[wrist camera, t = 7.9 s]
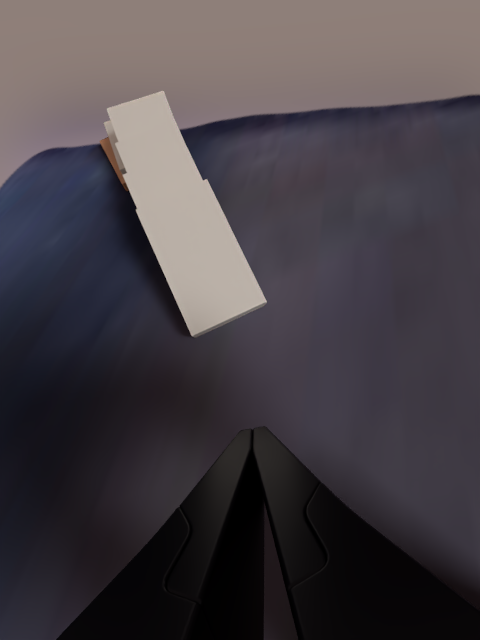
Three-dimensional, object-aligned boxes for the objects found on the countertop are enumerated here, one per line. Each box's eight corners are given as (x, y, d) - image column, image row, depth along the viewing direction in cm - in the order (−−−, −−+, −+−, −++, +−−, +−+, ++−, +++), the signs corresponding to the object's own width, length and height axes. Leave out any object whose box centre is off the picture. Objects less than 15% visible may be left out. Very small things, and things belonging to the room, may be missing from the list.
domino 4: (199, 187, 25) (163, 90, 25) (141, 207, 24) (106, 108, 25) (201, 196, 26) (167, 105, 27) (147, 214, 26) (114, 122, 26)
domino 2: (239, 257, 20) (187, 147, 21) (171, 287, 20) (122, 174, 21) (239, 264, 22) (190, 161, 23) (176, 292, 22) (130, 187, 23)
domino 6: (170, 161, 28) (141, 121, 33) (122, 184, 28) (99, 141, 32) (175, 175, 30) (147, 135, 34) (129, 197, 29) (107, 154, 34)
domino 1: (266, 301, 18) (206, 179, 19) (191, 336, 18) (135, 209, 19) (264, 305, 20) (209, 192, 21) (195, 337, 20) (143, 220, 21)
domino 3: (218, 220, 22) (175, 120, 23) (156, 245, 22) (114, 143, 23) (220, 229, 24) (179, 134, 25) (162, 252, 24) (122, 156, 25)
